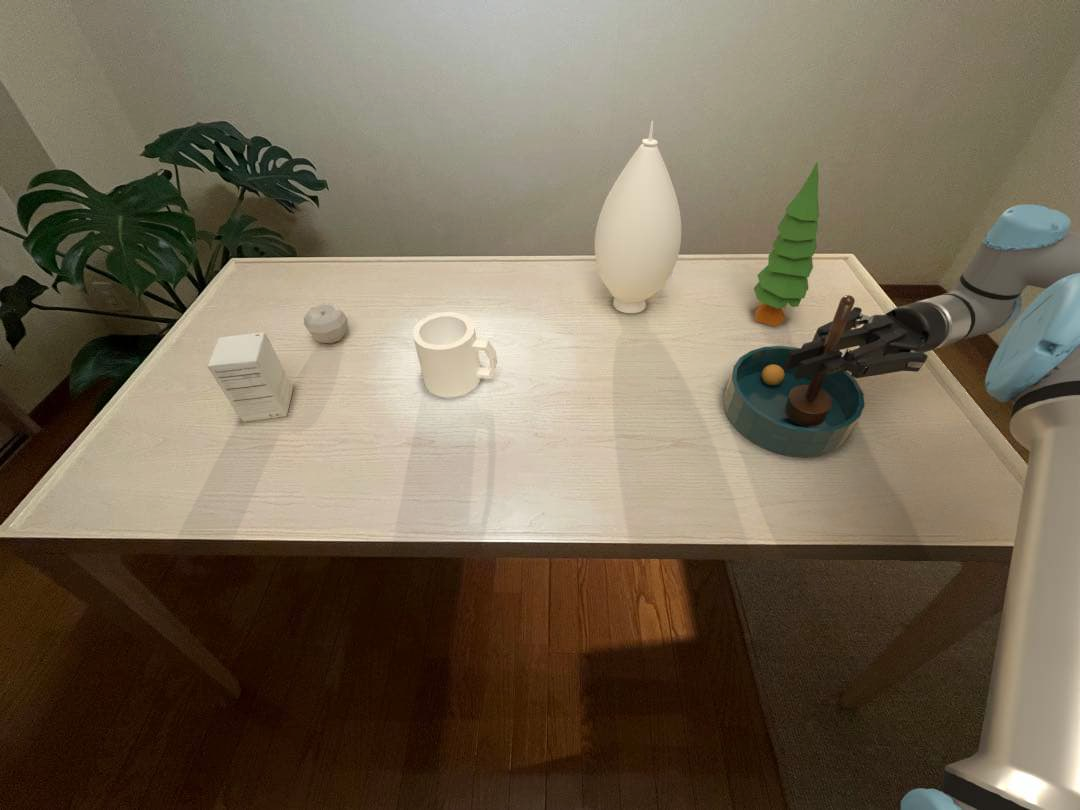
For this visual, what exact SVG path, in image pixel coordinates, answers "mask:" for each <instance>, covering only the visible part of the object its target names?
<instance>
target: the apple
mask: <svg viewBox="0 0 1080 810" xmlns="http://www.w3.org/2000/svg"><path fill="white" fill-rule="evenodd" d="M348 322H349V321H348V316H347V315H346V314H345V313H344V311H343V310H342V309H341V308H340V306H339V304H335V303H334V304H333V303H322V304H318V305H315V306H313V307H311V308H309V310H308V311H307V312H306V314H305V315H304V316H303V326H305V328H306V329H307V331H308V332H309V334H310V335H311V336H312V337H313V339H315V340H316V341H318V342H319V343H323V344H334V343H337V342H340V341H341V340H342V338H343V337H344V336H345V334H346V332H347V329H348V327H349V323H348Z"/></svg>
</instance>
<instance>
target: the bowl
mask: <svg viewBox="0 0 1080 810" xmlns="http://www.w3.org/2000/svg"><path fill="white" fill-rule="evenodd" d="M800 348H801V347H795V346H787V345H786V346H785V345H773V346H763V347H759V348H755V349H753V350H749V351H748V352H746V353H744V354H743V355H742V356H740V357H739V358H738V359H737V361H736V362H735V364H734V365H733V367H732V370H731V373H730V376H729V378H728V381H727V385H726V388H725V393H724V396H723V397H724V398H723V409H724V412H725V414H726V417H727V419H728V420H729V422H730V424H731V425H732V426H733V428H734V429H735V430H736V431H737V432H738V433H739V434H740V435H742V436H743V437H744V438H745V439H747V440H748V441H750V443H752V444H754V445H756V446H758V447H760V448H761V449H764V450H767V451H768V452H772V453H775V454H777V455H782V456H785V457H791V458H804V459H805V458H817V457H821V456H824V455H828V454H830V453H833V452H834V451H836V450H837V449H839V448H840V447H841V446H843V444H844V442H845V441H846V440H848V437H849V436H850V435H851V432H852V431H853V430H854V428H855V426H856V424H857V423H858V421H859V420H860V418H861V416H862V413H863V411H864V409H865V405H866V403H865V395H864V392H863V390H862V388H861V386H860V384H859V381H858V380H856V378H854V377H852V375H851V372H849V371H838V372H835V373H831V374H828V375H826V376H825V379H824V381H823V384H822V386H821V389H822V390H824V391H825V392H827V393H828V395H829V396H830V397H831V400H832V405H831V408H830V410H829V412H828V414H827V417H826V419H825V421H824V422H823V423H821V424H819V425H816V426H803V425H800V424H797V423H795V422H793V421H792V420H791V419H789V417H788V416H787V415H786V413H785V405H786V402H787V399H788V396H789V393H790V391H791V390H792V389H793V388H795V387H797V386H801V385H809V384H810V381H811V379H812V376H813V375H812V376H808V377H805V378H802V379H799V380H797V379H796V378H795V377H794V375H795V373H796V371H797V368H798V366H797V367H794V368H790V369H787V370H786V369H785V368H784V367H783V365H784V363H785V360H786V358H787V355H788V353H789V351H793V350H796V349H800ZM772 364H774V365H778V366H780V367H781V368H782V369H783V370H784V379H783V381H782V382H781V383H780V384H778V385H775V386H771V385H767V384H766V383H764V381H763V380H762V377H761V373H762V371H763V369H764V368H765V367H766V366H768V365H772Z"/></svg>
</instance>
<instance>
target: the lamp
mask: <svg viewBox="0 0 1080 810" xmlns="http://www.w3.org/2000/svg"><path fill="white" fill-rule="evenodd" d="M658 144H659V142H658V140H656V139H655V138H654V120H651V122H650V126H649V131H648V137H647V138H643V139H642V140H641V144H640V145H639V147H638V148H637V149H636V150H635V151H634V153H633V155H632V156H631V158H630V159H629V161H628V162H627V163H626V164H625V166H624V168H623V170H622V171H621V172H620V174H619V175H618V177H617V179H616V180H615V182H614V184H613V186H612V187H611V189H610V190H609V193H608V195H606V198H605V200H604V203H603V205H602V208H601V211H600V213H599V216H598V219H597V224H596V229H595V234H594V258H595V263H596V268H597V271H598V274H599V276H600V279H601V281H602V282H603V285H604V286H605V287H606V289H607V290H608V291H609V293H610V294H611V295H612V296H613V297H614V298H613V302H612V303H613V307H614V308H615V309H616V310H617V311H618V312H621V313H624V314H638V313H640V312H643V311H644V310H646V307H647V301H646V300H648V299H650V298H652V297H653V296H654V295H655V294H656V293H658V292H659V291H660V290H661V288H663V287H664V285H665V284H666V283H667V282H668V280H669V279H670V277H671V275H672V274H673V271H674V268H675V266H676V264H677V261H678V258H679V255H680V252H681V251H680V250H681V245H682V216H681V209H680V204H679V201H678V197H677V194H676V190H675V187H674V184H673V181H672V178H671V176H670V173H669V171H668V168H667V165H666V163H665V161H664V159H663V156H662V154H661V152H660V149H659V147H658Z"/></svg>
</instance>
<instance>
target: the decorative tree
mask: <svg viewBox="0 0 1080 810" xmlns="http://www.w3.org/2000/svg"><path fill="white" fill-rule="evenodd" d="M819 177H820V176H819V165H818V161H816V162H815V164H814V166H813V168H812V170H811V172H810V174H809V176H808V177H807V178H806V180H805V182H804V184H803V185H802V187H801V188H800V190H799V192H798V193H797V194H796V196H795V197H793V199H792V200H791V201H790V203H789V204H788V205H787V206H786V207H785V209H784V210H785V211H786V213H785V214H784V216H783V217H782V219H781V221H780V222H779V224H778V226H777V230H778V235H777V236H776V238H775V240H774V241H773V242H772V246H773V249H772V250H771V252H770V253H769V254H768V261H767V263H768V264H767V265H766V266H765V267H764V268H763V269H761V270H760V271H759V273H757V274H756V276H757V278H758V282H757V283H756V285H754V287H753V291H754V294H755V298H756V300H757V301H758V302H761V304H760V305H759V306H758V307H757V308H756V309H755V310H754V322H757V323H761V324H765V325H769V326H773V327H777V326H780V325H781V324H783V323H784V322H785V321H786V320H787V316H786V315H785V313H784V311H783V309H786V307H787V306H788V305H789V306H790V307H791V308H798V307H799V306H800V303H801V302H802V299H805V298H806V295H807V292H808V290H809V281H808V280H809V279H808V278H809V277H810V274H811V273H812V271H813V268H814V263H813V257H814V255H815V252H816V250H817V248H818V244H817V233H818V229H819V223H818V219H819V218H820V207H819V197H818V195H819Z"/></svg>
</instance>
